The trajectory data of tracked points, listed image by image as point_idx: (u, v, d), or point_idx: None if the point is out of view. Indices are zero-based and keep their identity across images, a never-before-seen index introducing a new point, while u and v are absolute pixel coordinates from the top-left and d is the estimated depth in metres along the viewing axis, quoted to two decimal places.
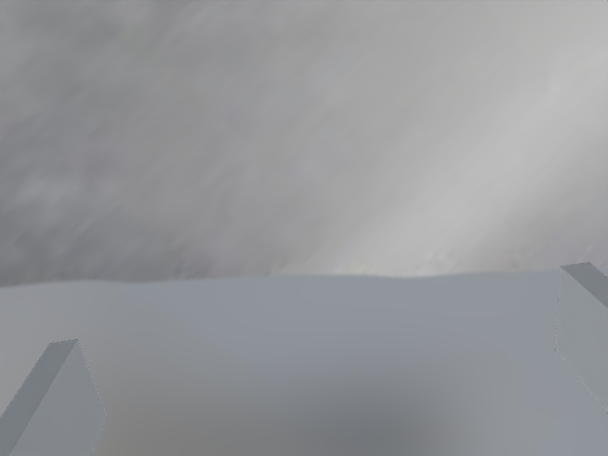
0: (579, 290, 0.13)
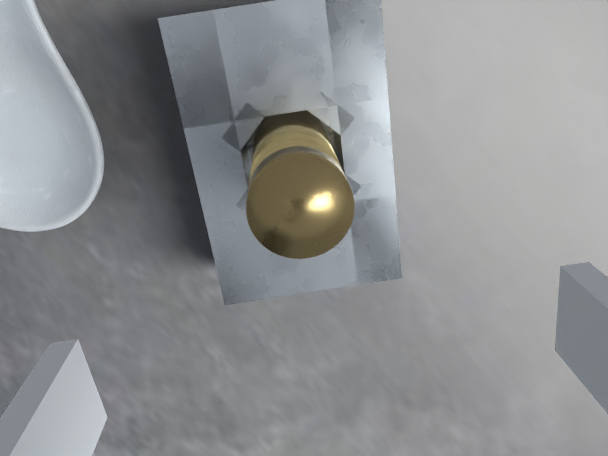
0: (579, 290, 0.13)
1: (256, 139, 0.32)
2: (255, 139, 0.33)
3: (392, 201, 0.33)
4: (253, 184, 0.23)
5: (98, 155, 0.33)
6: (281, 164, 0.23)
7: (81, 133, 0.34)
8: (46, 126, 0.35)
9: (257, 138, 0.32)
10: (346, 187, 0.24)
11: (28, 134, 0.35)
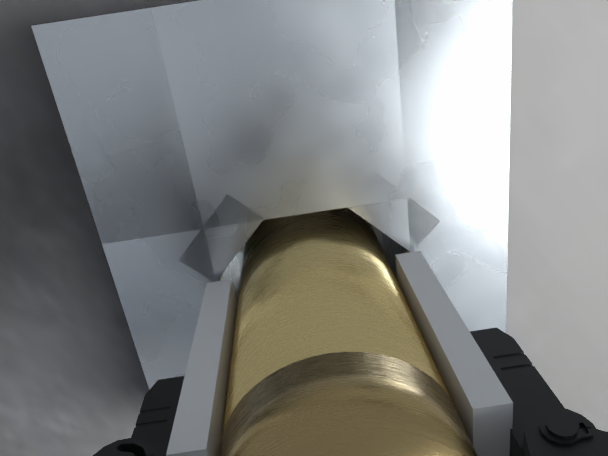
0: (403, 274, 0.15)
1: (247, 252, 0.17)
2: (246, 246, 0.18)
3: None
4: None
5: None
6: (309, 447, 0.08)
7: None
8: None
9: (249, 252, 0.17)
10: None
11: None
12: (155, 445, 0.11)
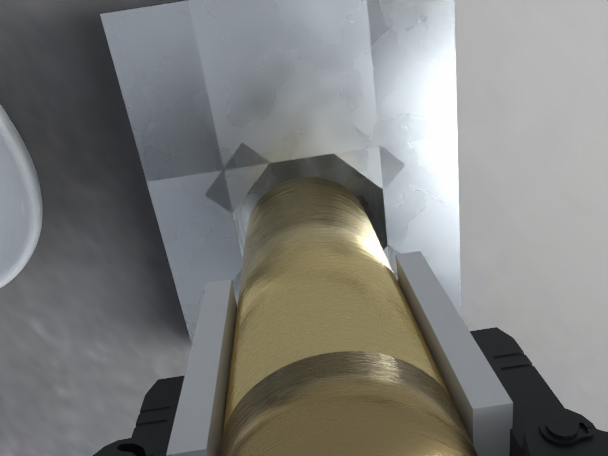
0: (403, 274, 0.15)
1: (248, 251, 0.17)
2: (246, 246, 0.18)
3: (455, 282, 0.22)
4: None
5: (32, 202, 0.22)
6: (309, 447, 0.08)
7: (11, 168, 0.23)
8: None
9: (249, 251, 0.17)
10: None
11: None
12: (155, 445, 0.11)
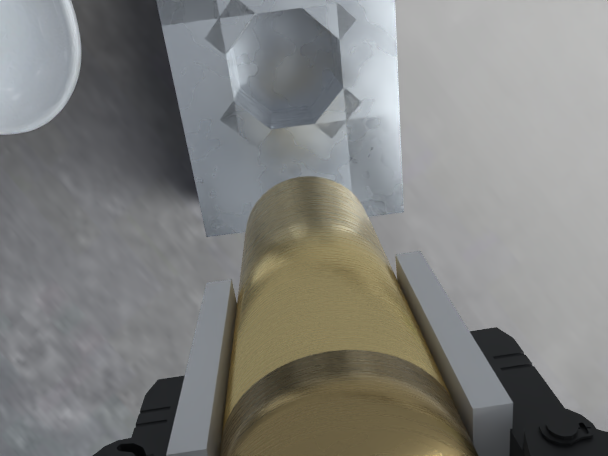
0: (403, 274, 0.15)
1: (247, 250, 0.17)
2: (246, 245, 0.18)
3: (395, 121, 0.29)
4: None
5: (74, 47, 0.29)
6: (309, 446, 0.08)
7: (57, 23, 0.30)
8: (19, 16, 0.31)
9: (249, 250, 0.17)
10: None
11: None
12: (155, 445, 0.11)
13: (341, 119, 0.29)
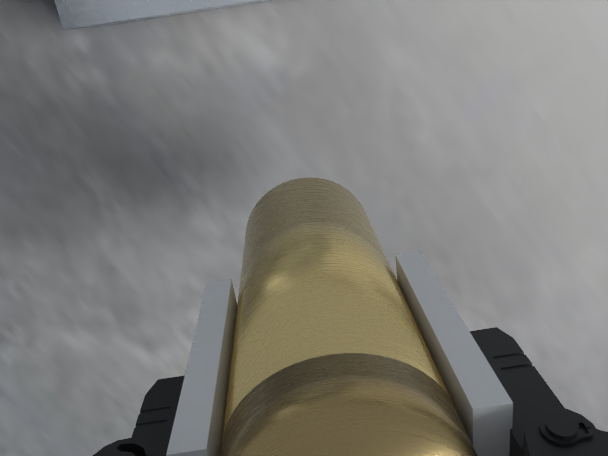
0: (403, 274, 0.15)
1: (247, 252, 0.17)
2: (246, 247, 0.18)
3: None
4: None
5: None
6: (310, 449, 0.08)
7: None
8: None
9: (249, 252, 0.17)
10: None
11: None
12: (155, 445, 0.11)
13: None
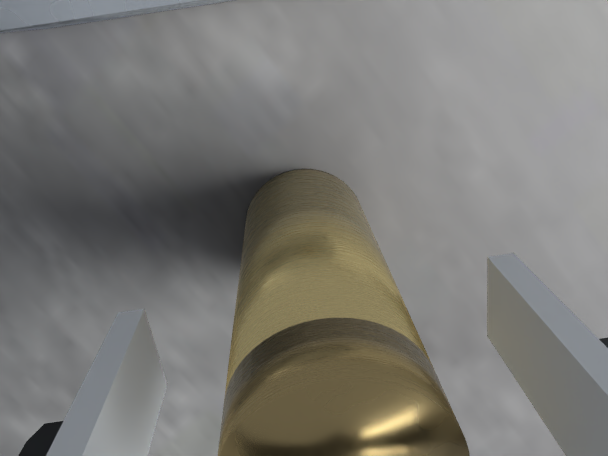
0: (500, 278, 0.14)
1: (247, 237, 0.18)
2: (246, 233, 0.19)
3: None
4: (231, 436, 0.10)
5: None
6: (301, 395, 0.09)
7: None
8: None
9: (249, 237, 0.18)
10: (456, 437, 0.10)
11: None
12: None
13: None
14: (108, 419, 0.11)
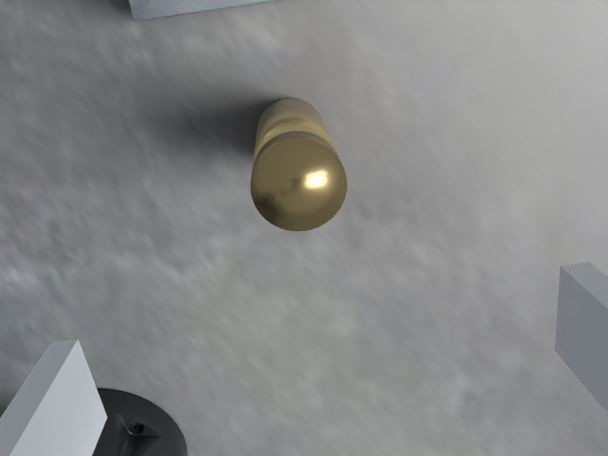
0: (579, 290, 0.13)
1: (259, 127, 0.35)
2: (258, 127, 0.36)
3: None
4: (257, 163, 0.26)
5: None
6: (282, 145, 0.26)
7: None
8: None
9: (260, 126, 0.35)
10: (340, 166, 0.27)
11: None
12: None
13: None
14: None
